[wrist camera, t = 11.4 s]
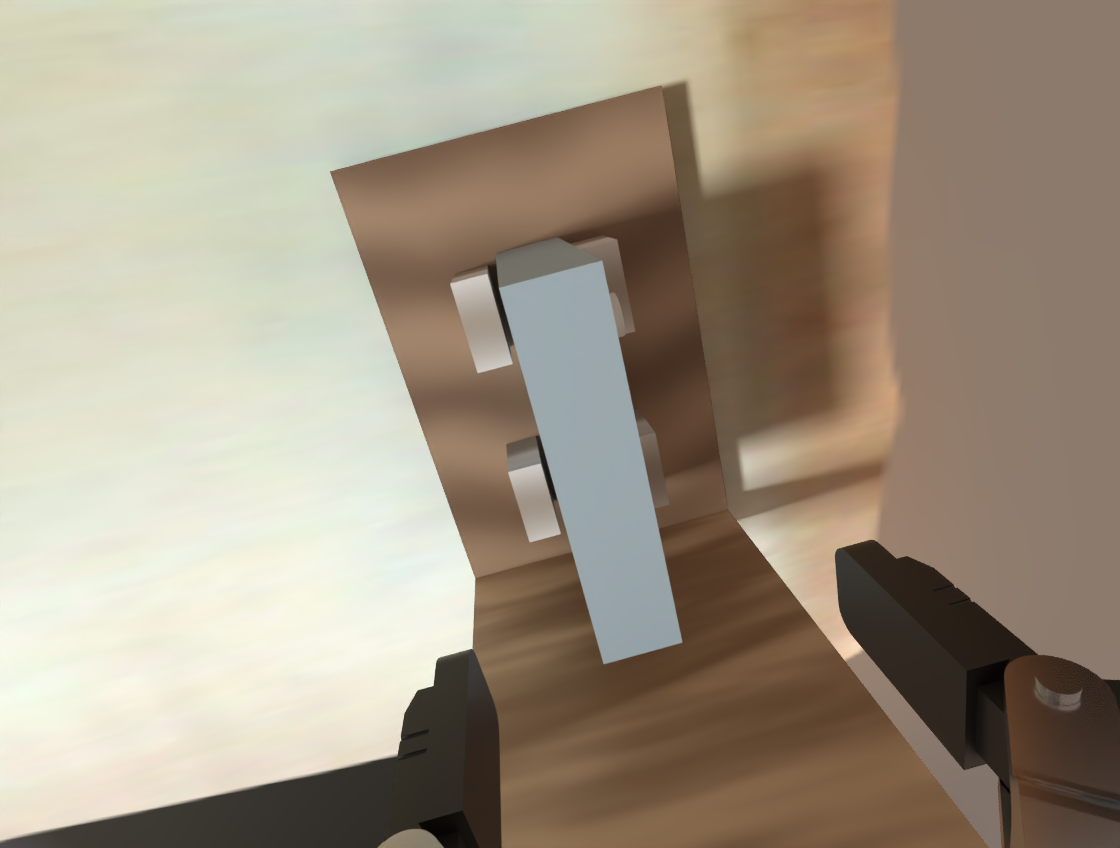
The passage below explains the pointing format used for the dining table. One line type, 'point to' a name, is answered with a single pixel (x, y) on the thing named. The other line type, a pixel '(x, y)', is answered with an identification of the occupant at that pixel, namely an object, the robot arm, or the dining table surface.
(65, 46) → the dining table surface
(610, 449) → the door
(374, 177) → the hinge base
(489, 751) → the robot arm
